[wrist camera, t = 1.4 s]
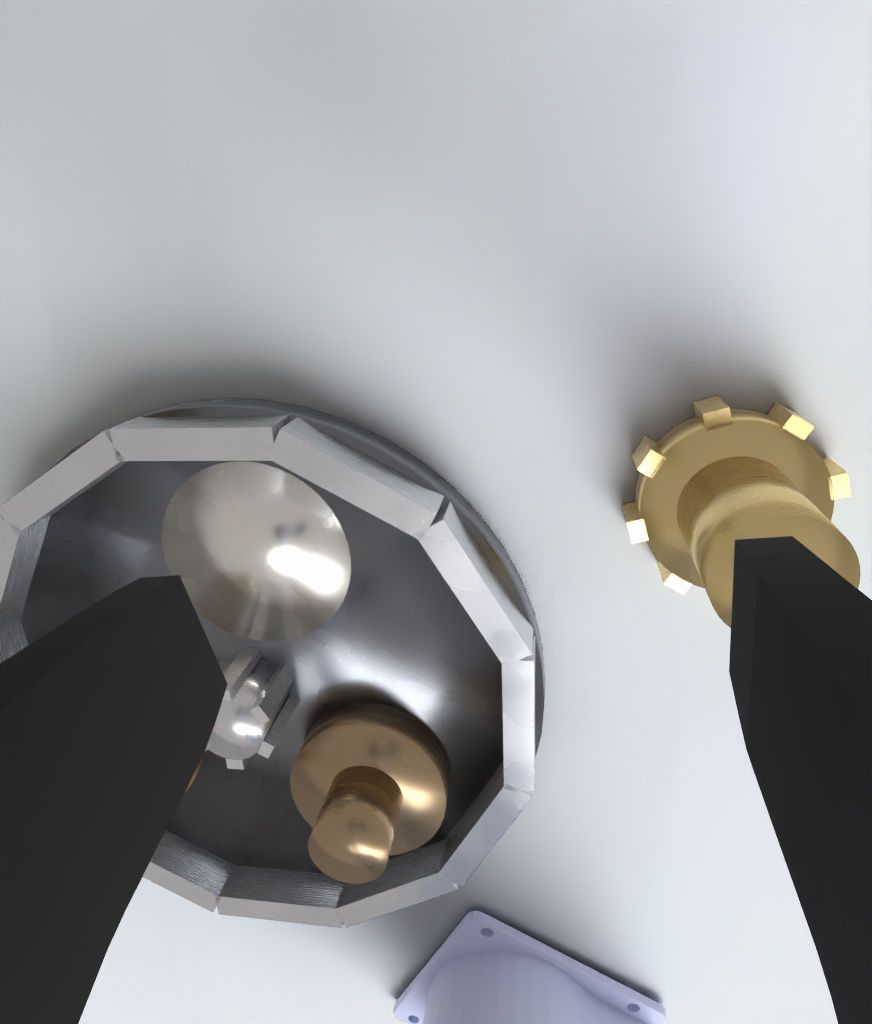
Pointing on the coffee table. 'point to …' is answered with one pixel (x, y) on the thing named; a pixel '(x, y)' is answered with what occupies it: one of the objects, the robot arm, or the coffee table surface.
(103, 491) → the carrier
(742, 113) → the coffee table surface
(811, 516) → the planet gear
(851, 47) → the coffee table surface
